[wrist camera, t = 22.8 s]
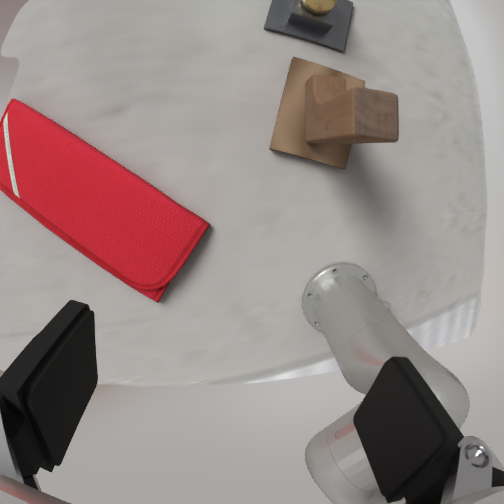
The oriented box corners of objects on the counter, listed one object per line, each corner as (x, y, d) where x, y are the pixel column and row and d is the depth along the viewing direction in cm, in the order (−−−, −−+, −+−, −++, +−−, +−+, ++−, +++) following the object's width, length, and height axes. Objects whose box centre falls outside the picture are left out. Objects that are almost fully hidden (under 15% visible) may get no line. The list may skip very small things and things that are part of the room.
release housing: (351, 4, 34) (360, -6, 30) (341, 52, 37) (351, 43, 33) (278, -19, 32) (281, -32, 28) (263, 28, 35) (266, 17, 31)
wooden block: (304, 81, 37) (350, 38, 20) (335, 84, 37) (396, 48, 20) (304, 142, 40) (353, 137, 23) (335, 144, 40) (400, 142, 23)
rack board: (361, 83, 38) (365, 81, 37) (341, 168, 42) (345, 169, 41) (291, 59, 37) (293, 56, 36) (269, 148, 41) (270, 148, 40)
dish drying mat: (159, 300, 48) (154, 311, 44) (-10, 175, 39) (-23, 178, 35) (211, 221, 44) (209, 227, 41) (22, 97, 35) (10, 95, 32)
